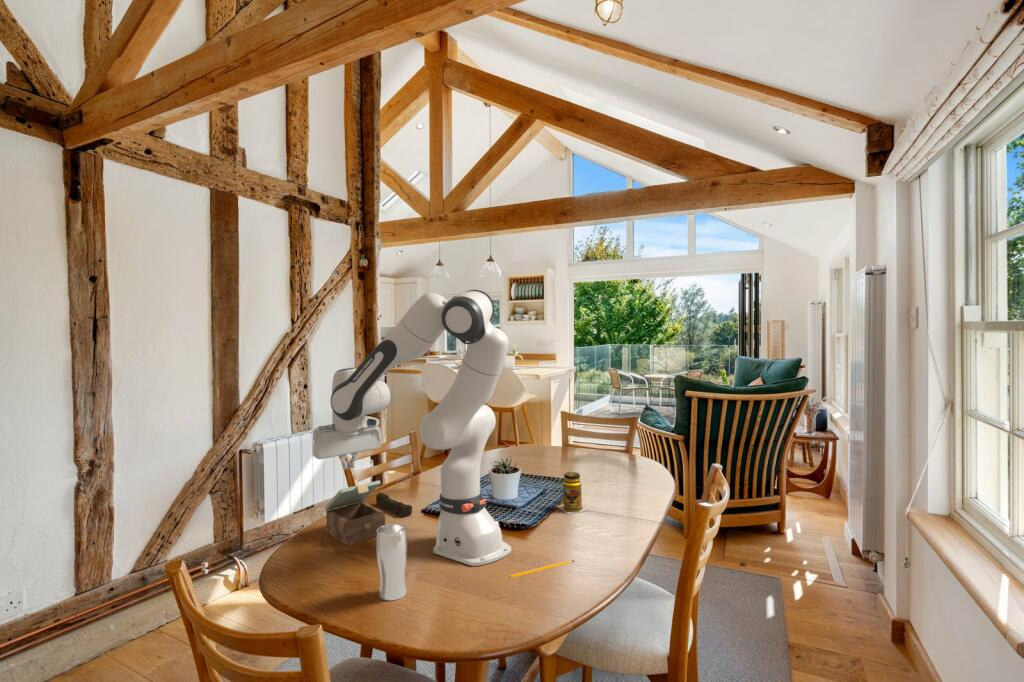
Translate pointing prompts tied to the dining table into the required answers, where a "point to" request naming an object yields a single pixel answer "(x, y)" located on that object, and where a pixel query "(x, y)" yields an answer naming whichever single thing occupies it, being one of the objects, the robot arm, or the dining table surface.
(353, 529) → the box
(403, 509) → the dark brown rough bar
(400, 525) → the beer glass
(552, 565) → the pencil
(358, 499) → the lid
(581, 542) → the dining table surface
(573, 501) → the condiment
